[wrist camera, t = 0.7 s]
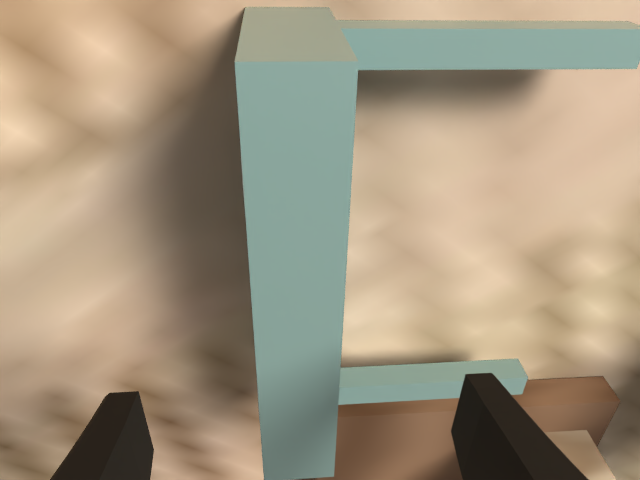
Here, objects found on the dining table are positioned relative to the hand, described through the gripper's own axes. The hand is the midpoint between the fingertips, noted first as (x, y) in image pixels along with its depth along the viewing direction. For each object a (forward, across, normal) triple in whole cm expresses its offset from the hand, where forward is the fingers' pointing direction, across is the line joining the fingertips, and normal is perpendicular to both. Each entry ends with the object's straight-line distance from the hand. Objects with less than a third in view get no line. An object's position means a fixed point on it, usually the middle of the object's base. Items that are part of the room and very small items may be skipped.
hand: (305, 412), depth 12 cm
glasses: (+9, -4, 0) cm, 10 cm away
